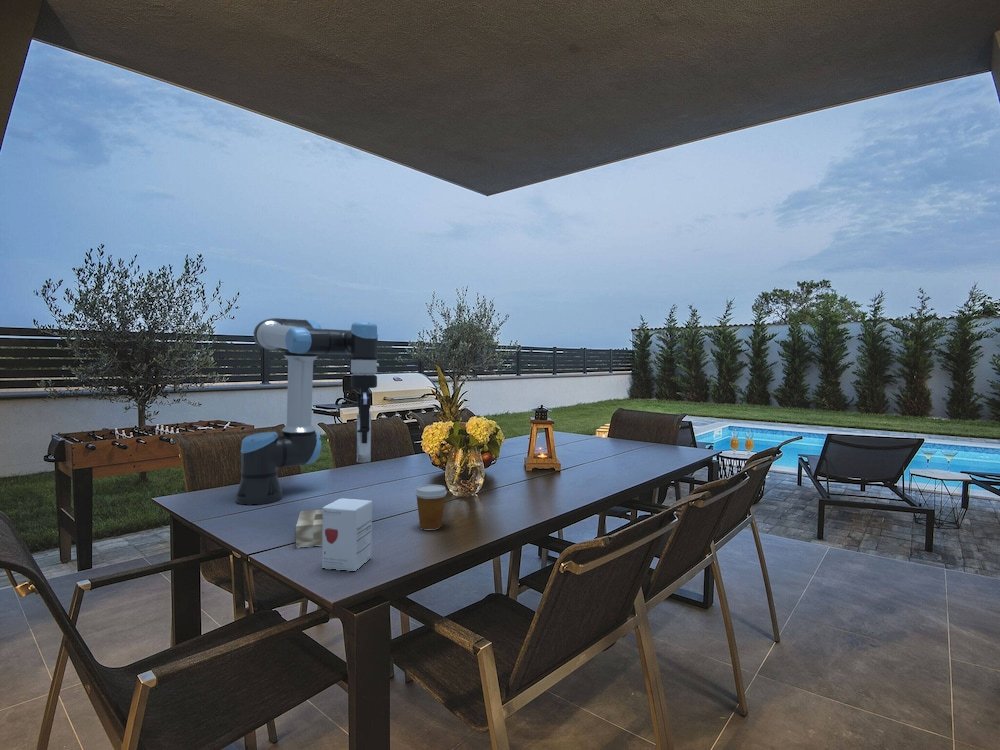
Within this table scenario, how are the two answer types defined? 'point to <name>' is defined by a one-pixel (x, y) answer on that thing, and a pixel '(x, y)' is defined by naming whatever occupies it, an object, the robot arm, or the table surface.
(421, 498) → the disposable coffee cup
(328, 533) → the supplement box
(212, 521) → the table surface
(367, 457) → the peg
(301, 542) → the bore block
